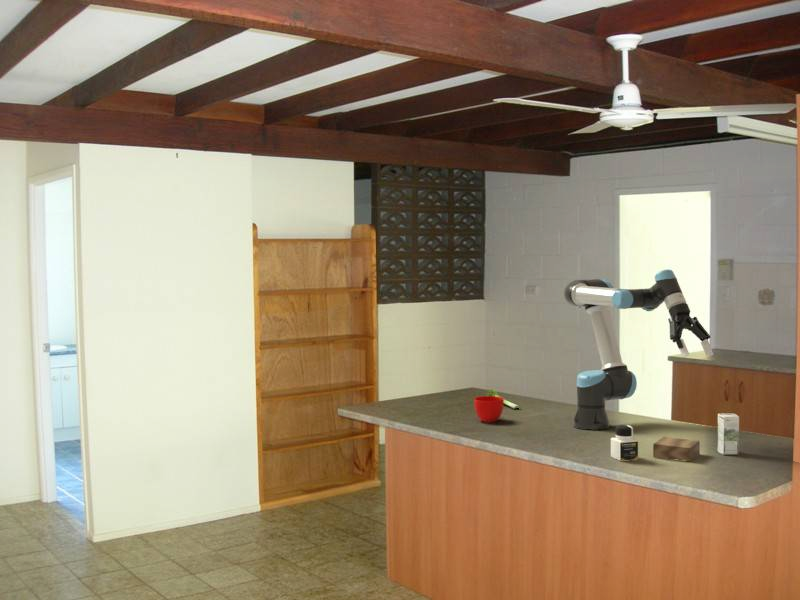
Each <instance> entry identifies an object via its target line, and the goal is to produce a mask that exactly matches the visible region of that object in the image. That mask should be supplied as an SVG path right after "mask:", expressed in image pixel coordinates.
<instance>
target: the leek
mask: <svg viewBox="0 0 800 600" xmlns="http://www.w3.org/2000/svg"><path fill="white" fill-rule="evenodd" d="M485 396H496V397H501V396H500V395H498V392H497V391H495V390H493V389H488V390H487V392H486V395H485ZM503 399H504V398H503ZM503 405H506V406H508V407H510V408H512V409H514V410H515V409H517V408H519V409H518V410H522V409H521V408H522V407H521V406H520V405H518V404H515V403H513V402H511V401H509V400H507V399H504V403H503Z"/></svg>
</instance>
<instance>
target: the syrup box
mask: <svg viewBox="0 0 800 600" xmlns="http://www.w3.org/2000/svg"><path fill="white" fill-rule="evenodd" d="M739 436H740V416H738V415H737V414H736V413H733V412H732V413H727V412H726V413H724V412H723V413H717V436H716V437H717V444H716V451H717V452H718V453H720V454H721V455H723V456H734V455H735V456H736V455H737V456H739V449H740V448H739V447H740V446H739V442H740V437H739Z"/></svg>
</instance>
